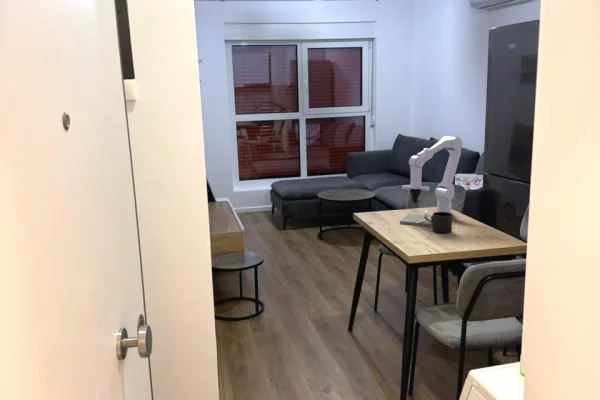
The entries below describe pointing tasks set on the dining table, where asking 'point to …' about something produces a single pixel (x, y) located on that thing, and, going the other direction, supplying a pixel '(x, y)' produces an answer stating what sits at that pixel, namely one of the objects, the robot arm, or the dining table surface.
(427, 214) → the bar
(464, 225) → the dining table surface
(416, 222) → the plate
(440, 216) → the mug
